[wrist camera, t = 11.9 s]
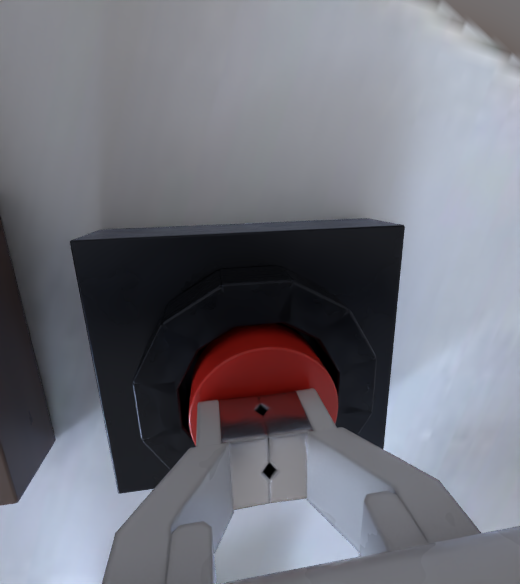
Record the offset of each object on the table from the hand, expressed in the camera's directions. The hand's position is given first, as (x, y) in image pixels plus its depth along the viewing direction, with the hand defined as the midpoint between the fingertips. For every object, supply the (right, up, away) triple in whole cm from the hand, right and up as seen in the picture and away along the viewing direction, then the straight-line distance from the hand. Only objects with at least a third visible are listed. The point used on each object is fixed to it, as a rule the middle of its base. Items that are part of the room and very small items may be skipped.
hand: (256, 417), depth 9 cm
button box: (-1, +1, +5) cm, 5 cm away
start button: (0, 0, +2) cm, 2 cm away
